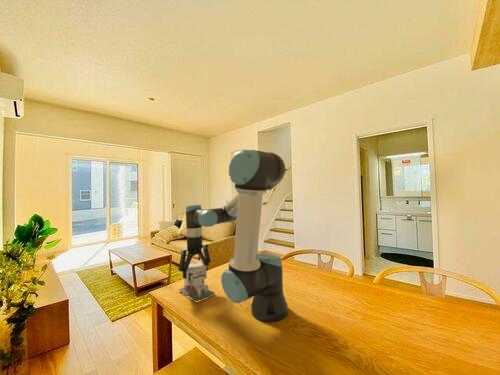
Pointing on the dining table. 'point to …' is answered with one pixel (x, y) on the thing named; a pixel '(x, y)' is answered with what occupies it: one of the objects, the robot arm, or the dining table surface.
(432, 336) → the dining table surface
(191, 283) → the ink box
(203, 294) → the pin tray
